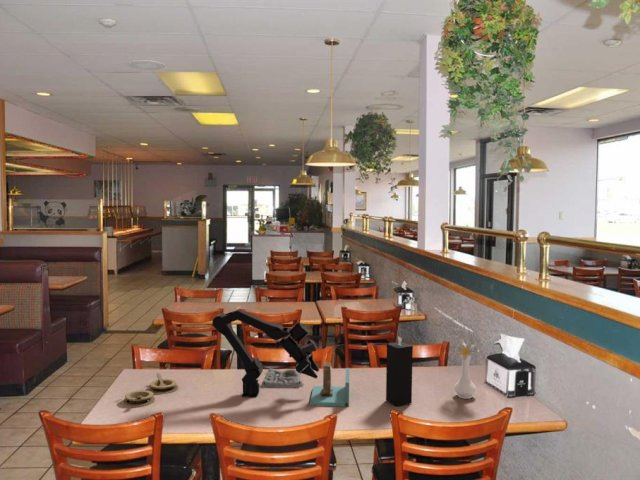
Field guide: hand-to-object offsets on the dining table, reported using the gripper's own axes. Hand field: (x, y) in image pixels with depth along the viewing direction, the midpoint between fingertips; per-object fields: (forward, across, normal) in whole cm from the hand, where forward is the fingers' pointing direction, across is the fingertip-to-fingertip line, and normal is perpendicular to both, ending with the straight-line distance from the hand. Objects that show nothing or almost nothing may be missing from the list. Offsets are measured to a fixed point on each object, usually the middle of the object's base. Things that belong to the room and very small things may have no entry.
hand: (317, 374), depth 236 cm
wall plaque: (-4, +22, +20) cm, 30 cm away
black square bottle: (+32, -4, -18) cm, 36 cm away
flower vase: (+52, +6, -38) cm, 65 cm away
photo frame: (+9, 0, +3) cm, 9 cm away
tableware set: (-43, -3, +59) cm, 73 cm away
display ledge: (+11, 0, +3) cm, 11 cm away
